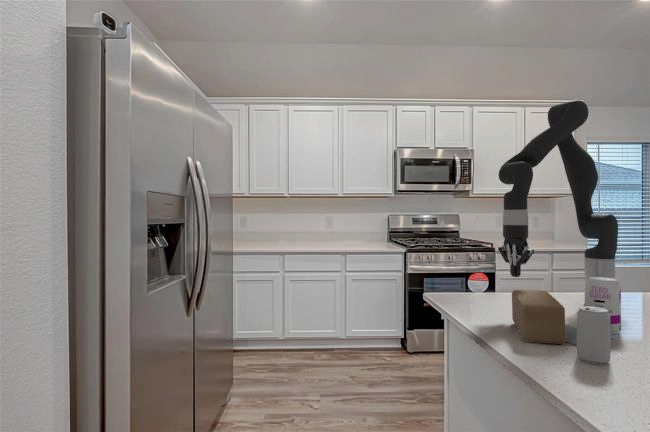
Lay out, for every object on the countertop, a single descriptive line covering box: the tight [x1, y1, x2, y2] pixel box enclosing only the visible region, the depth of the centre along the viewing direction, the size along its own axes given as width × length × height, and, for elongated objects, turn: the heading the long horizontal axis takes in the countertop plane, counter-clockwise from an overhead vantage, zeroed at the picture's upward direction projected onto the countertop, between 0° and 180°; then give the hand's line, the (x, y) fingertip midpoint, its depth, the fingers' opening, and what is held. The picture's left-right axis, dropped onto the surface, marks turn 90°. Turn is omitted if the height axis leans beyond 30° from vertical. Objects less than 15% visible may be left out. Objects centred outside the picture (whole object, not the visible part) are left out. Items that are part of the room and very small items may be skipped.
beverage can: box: [576, 305, 611, 365], centre depth 93 cm, size 6×6×12 cm
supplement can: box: [585, 277, 622, 336], centre depth 116 cm, size 8×8×15 cm
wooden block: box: [511, 289, 566, 345], centre depth 114 cm, size 10×10×20 cm
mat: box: [565, 324, 614, 346], centre depth 114 cm, size 14×18×1 cm
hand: (515, 276), depth 133 cm, fingers closed
